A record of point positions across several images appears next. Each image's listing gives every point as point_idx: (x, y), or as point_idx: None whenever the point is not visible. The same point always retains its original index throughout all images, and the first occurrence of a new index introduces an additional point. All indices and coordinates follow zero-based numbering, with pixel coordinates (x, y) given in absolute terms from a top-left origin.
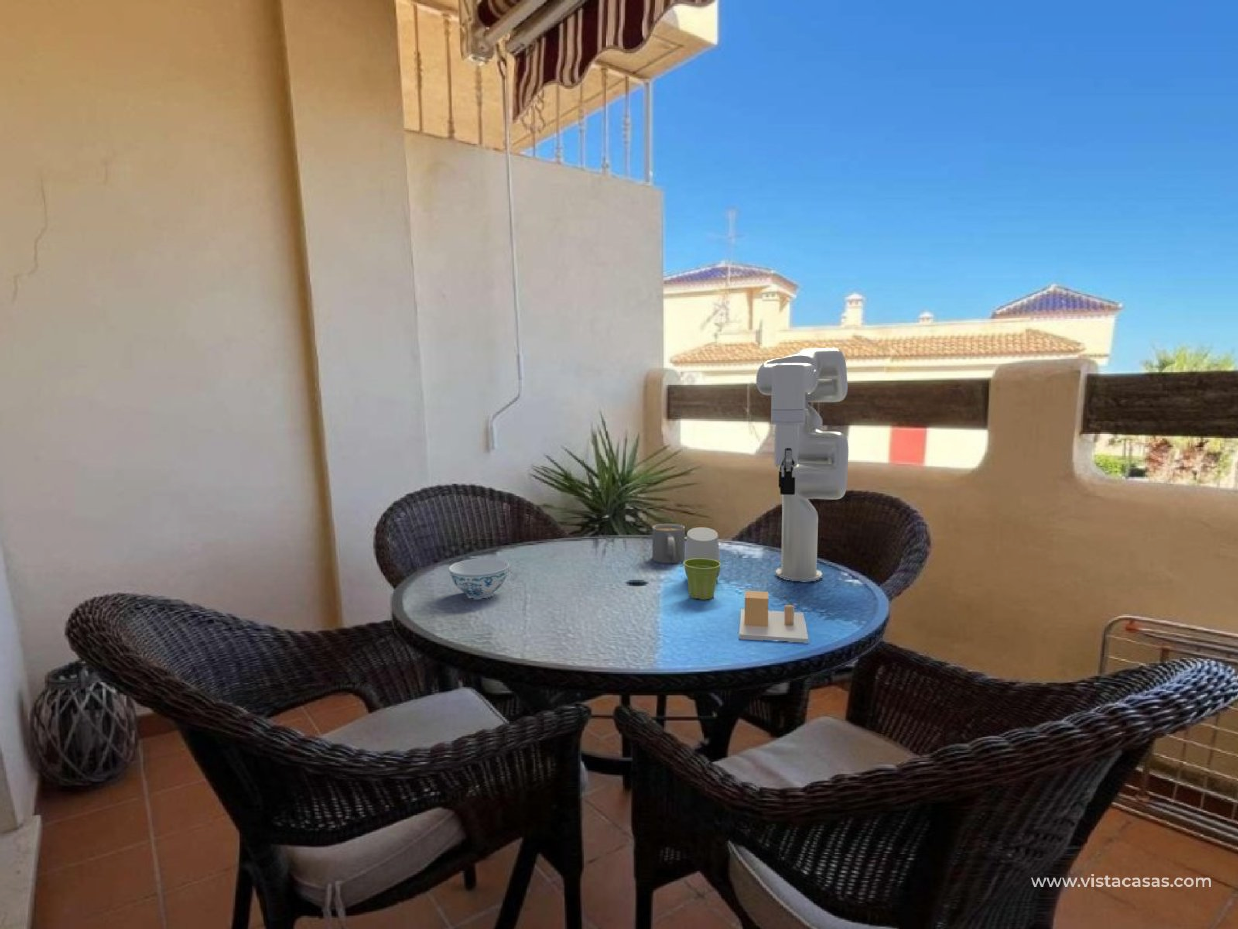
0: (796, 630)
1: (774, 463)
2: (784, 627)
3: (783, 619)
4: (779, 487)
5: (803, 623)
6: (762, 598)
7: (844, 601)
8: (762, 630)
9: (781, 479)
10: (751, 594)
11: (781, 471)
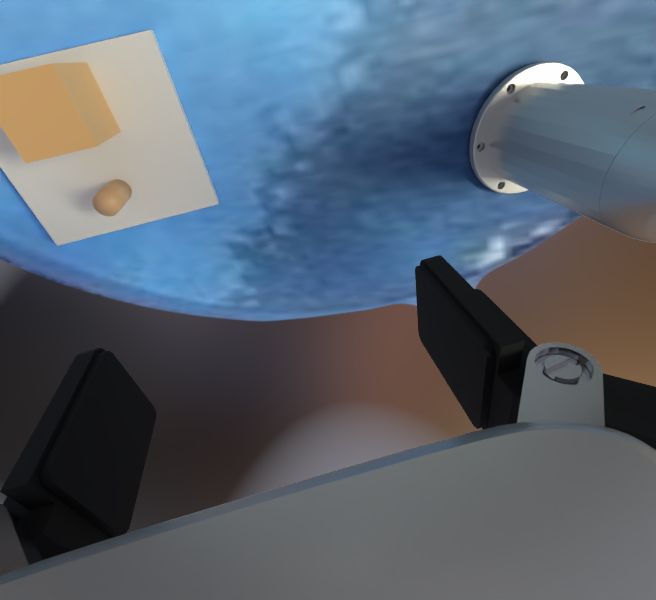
0: (88, 214)
1: (277, 514)
2: (87, 185)
3: (142, 171)
4: (421, 262)
5: (145, 218)
6: (14, 144)
7: (357, 257)
8: None
9: (24, 469)
10: (25, 97)
11: (499, 366)
